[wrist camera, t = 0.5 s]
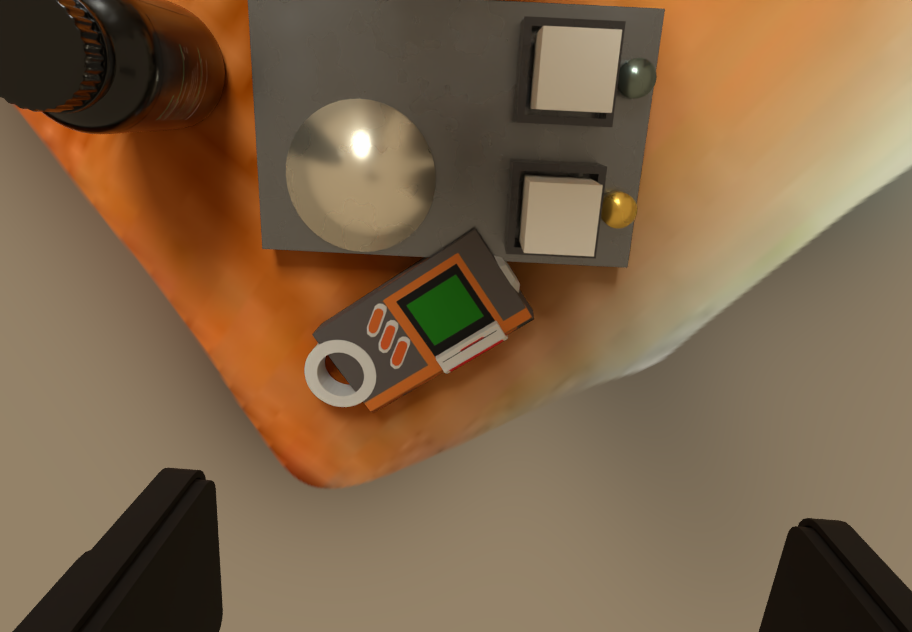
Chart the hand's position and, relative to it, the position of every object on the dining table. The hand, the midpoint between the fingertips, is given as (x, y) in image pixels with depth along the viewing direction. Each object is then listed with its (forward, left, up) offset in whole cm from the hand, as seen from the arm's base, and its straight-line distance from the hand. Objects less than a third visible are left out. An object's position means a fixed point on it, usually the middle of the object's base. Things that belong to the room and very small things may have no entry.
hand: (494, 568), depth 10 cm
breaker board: (-6, -2, -29) cm, 30 cm away
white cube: (-2, +4, -26) cm, 26 cm away
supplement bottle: (-9, -18, -30) cm, 36 cm away
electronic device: (+6, -4, -30) cm, 30 cm away
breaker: (-9, +4, -26) cm, 28 cm away
